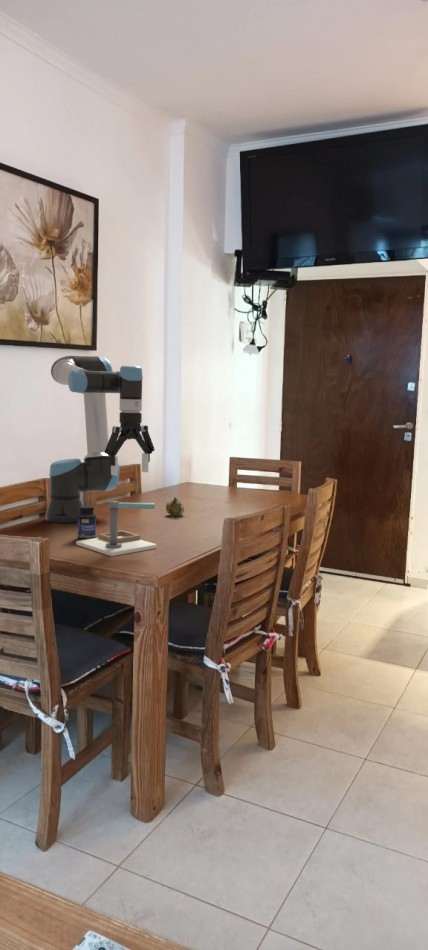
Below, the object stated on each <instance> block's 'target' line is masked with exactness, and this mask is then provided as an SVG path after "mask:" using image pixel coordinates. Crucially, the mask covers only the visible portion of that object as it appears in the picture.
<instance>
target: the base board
mask: <svg viewBox="0 0 428 950" xmlns="http://www.w3.org/2000/svg"><path fill="white" fill-rule="evenodd" d="M118 509H119V508H109V532H104V533H98V536H97V537H95V538H93V539H87V540H81V539H79V540H76V542H75V543H76V545H77V546H78V547H79V546H80V547H82V548H85V549H88V550H91V551H95V552H98V553H99V554H100V553H101V554H103V555H107V556H109V557H115V556H120V555H126V554H127V555H128V554H131V553H137V552H143V551H147V550H148V551H149V550H154V549H157V548H158V544H157V543H154V542H150V541H146V540H143V539H141V534H137V533H133V532H130V531H126V530H123V529H122V530H119V529H118V522H119V521H118V511H119V510H118Z"/></svg>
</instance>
